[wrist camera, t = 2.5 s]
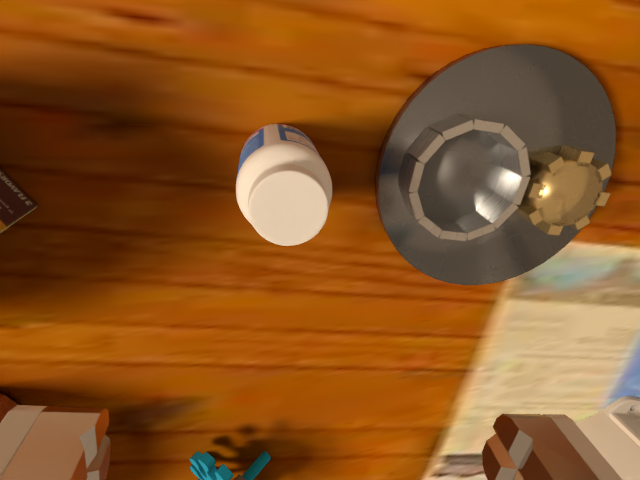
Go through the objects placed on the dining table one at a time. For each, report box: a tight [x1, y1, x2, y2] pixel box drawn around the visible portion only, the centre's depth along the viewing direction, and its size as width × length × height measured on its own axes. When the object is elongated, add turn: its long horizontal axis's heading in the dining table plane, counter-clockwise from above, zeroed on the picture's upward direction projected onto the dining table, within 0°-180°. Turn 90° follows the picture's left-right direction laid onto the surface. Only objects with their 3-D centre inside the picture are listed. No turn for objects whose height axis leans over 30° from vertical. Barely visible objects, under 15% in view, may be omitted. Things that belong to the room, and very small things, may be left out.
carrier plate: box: [375, 45, 616, 285], centre depth 30 cm, size 18×18×4 cm
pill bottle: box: [236, 124, 332, 246], centre depth 25 cm, size 6×5×10 cm
